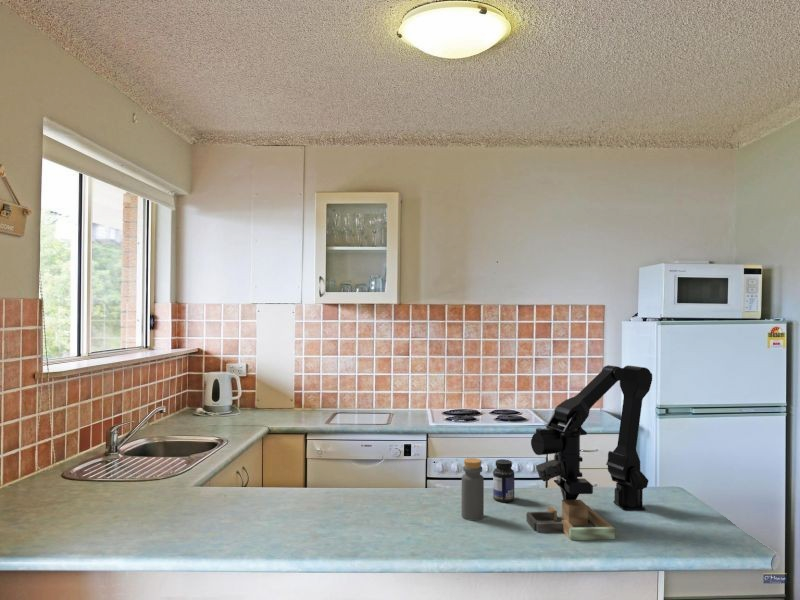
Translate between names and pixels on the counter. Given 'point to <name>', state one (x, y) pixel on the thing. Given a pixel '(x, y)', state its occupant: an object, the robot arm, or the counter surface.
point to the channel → (547, 524)
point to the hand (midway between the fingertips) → (568, 509)
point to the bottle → (472, 490)
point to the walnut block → (575, 512)
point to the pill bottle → (503, 481)
